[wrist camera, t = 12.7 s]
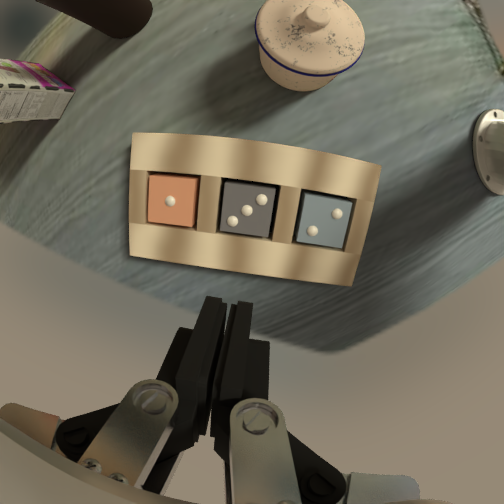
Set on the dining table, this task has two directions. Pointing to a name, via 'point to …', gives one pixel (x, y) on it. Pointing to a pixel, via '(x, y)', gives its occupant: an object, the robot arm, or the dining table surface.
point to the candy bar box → (31, 92)
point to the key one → (173, 198)
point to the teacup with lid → (307, 41)
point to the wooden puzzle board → (254, 169)
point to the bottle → (107, 14)
